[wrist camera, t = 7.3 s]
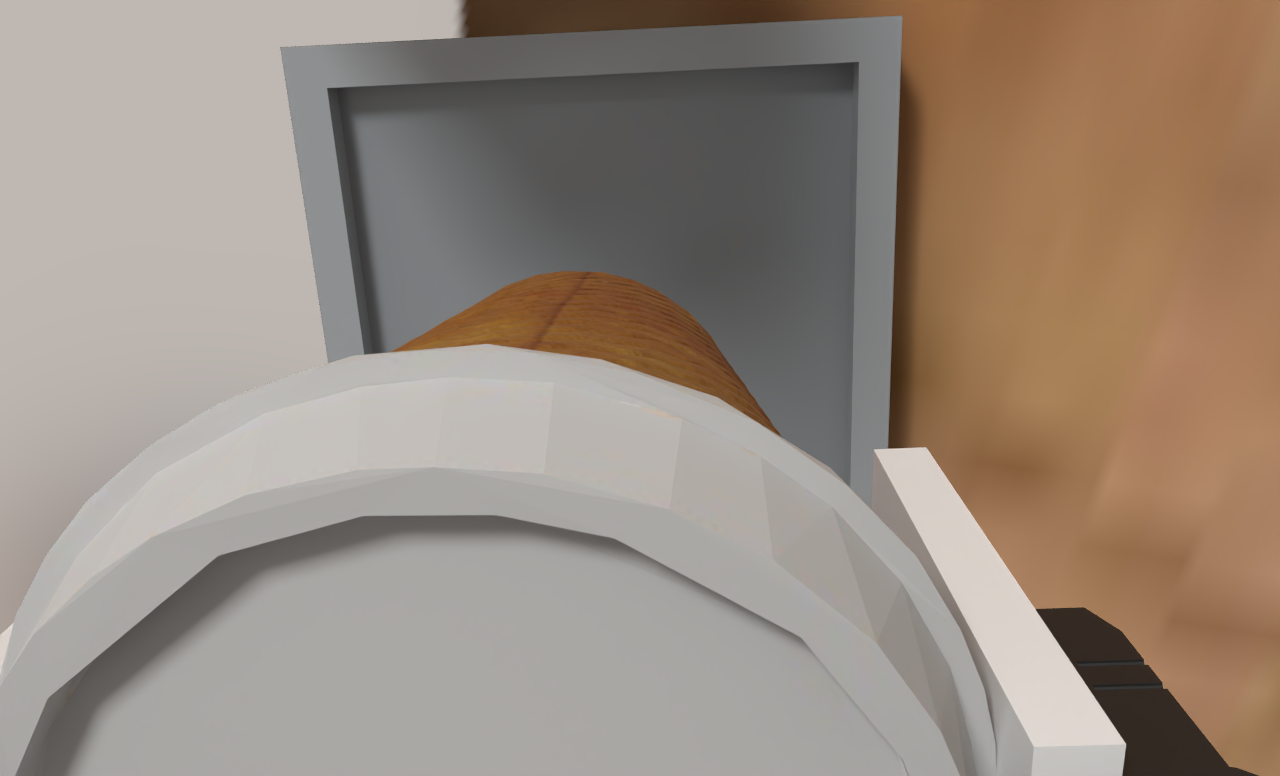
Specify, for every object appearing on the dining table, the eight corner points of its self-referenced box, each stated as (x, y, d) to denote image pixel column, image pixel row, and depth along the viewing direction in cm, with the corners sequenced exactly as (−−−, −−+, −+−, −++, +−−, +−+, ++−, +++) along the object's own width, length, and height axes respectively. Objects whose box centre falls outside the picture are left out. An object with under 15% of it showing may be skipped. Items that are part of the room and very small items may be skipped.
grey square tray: (882, 18, 26) (902, 15, 24) (868, 538, 31) (883, 576, 29) (311, 47, 27) (280, 47, 24) (384, 554, 31) (363, 592, 29)
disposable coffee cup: (668, 705, 22) (676, 1418, 10) (265, 505, 20) (-229, 1073, 9) (920, 340, 19) (1299, 769, 8) (473, 82, 18) (137, 141, 6)
